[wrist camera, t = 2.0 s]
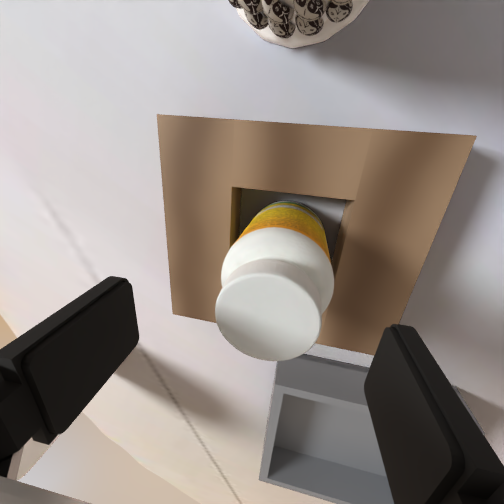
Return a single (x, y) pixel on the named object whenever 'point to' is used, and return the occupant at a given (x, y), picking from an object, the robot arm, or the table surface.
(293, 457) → the tray
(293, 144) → the brown wooden square frame
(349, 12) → the decorative candle
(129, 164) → the table surface
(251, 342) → the supplement bottle
